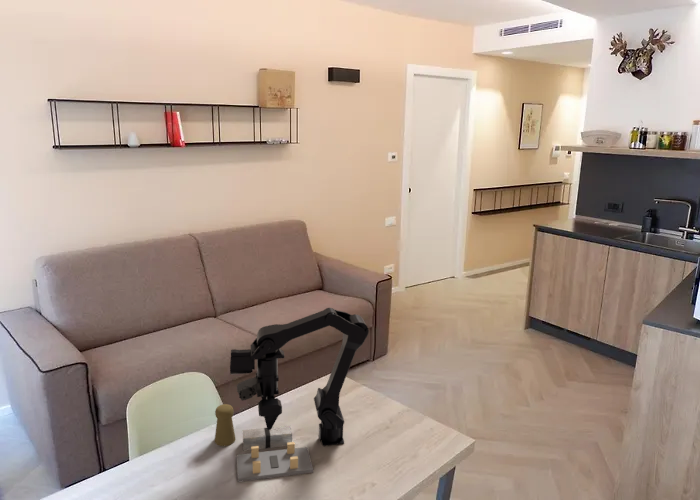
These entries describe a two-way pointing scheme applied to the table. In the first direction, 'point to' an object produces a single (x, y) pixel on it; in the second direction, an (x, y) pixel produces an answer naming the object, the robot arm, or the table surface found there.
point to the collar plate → (273, 463)
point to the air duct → (267, 437)
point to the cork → (224, 425)
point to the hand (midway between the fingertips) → (267, 420)
